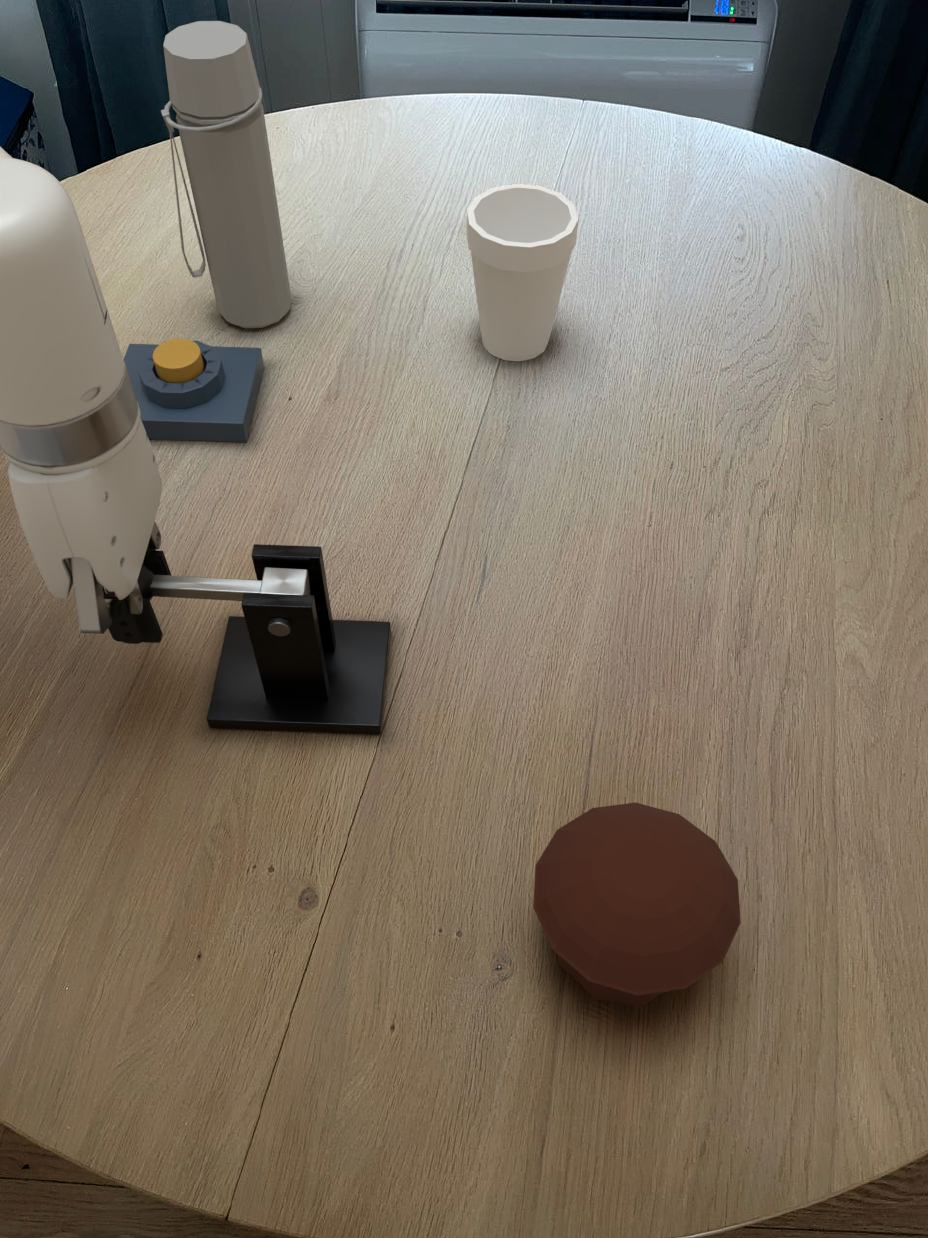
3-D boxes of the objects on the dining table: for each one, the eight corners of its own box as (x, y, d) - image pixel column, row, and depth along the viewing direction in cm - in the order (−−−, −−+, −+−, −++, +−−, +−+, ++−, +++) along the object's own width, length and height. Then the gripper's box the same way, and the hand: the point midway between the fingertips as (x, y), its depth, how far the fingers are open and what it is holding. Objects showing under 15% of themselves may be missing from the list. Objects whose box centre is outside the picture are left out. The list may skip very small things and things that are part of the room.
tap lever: (105, 617, 67) (93, 586, 65) (117, 579, 69) (105, 547, 67) (306, 628, 67) (302, 598, 65) (312, 589, 69) (308, 558, 67)
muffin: (690, 839, 68) (722, 765, 60) (741, 1012, 61) (784, 955, 53) (511, 863, 67) (519, 790, 59) (543, 1041, 60) (557, 987, 52)
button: (152, 383, 89) (147, 367, 87) (162, 353, 91) (157, 337, 90) (199, 385, 89) (195, 369, 87) (207, 354, 91) (204, 338, 90)
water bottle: (284, 279, 104) (243, 11, 83) (302, 326, 99) (263, 56, 79) (191, 296, 102) (127, 27, 82) (205, 345, 97) (141, 73, 77)
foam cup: (546, 382, 95) (558, 257, 84) (451, 358, 96) (451, 233, 86) (576, 321, 100) (590, 196, 90) (485, 299, 102) (489, 175, 91)
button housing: (108, 438, 90) (96, 402, 87) (135, 362, 96) (123, 326, 93) (247, 442, 90) (239, 407, 86) (264, 366, 96) (258, 330, 92)
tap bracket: (209, 728, 73) (173, 629, 63) (231, 625, 78) (200, 518, 68) (380, 735, 72) (370, 636, 63) (391, 630, 78) (382, 525, 68)
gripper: (35, 306, 60) (119, 522, 75) (-62, 517, 50) (56, 718, 65) (165, 310, 60) (223, 525, 74) (93, 522, 50) (176, 722, 65)
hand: (145, 613), depth 69 cm, fingers closed on tap lever, 3 cm apart
